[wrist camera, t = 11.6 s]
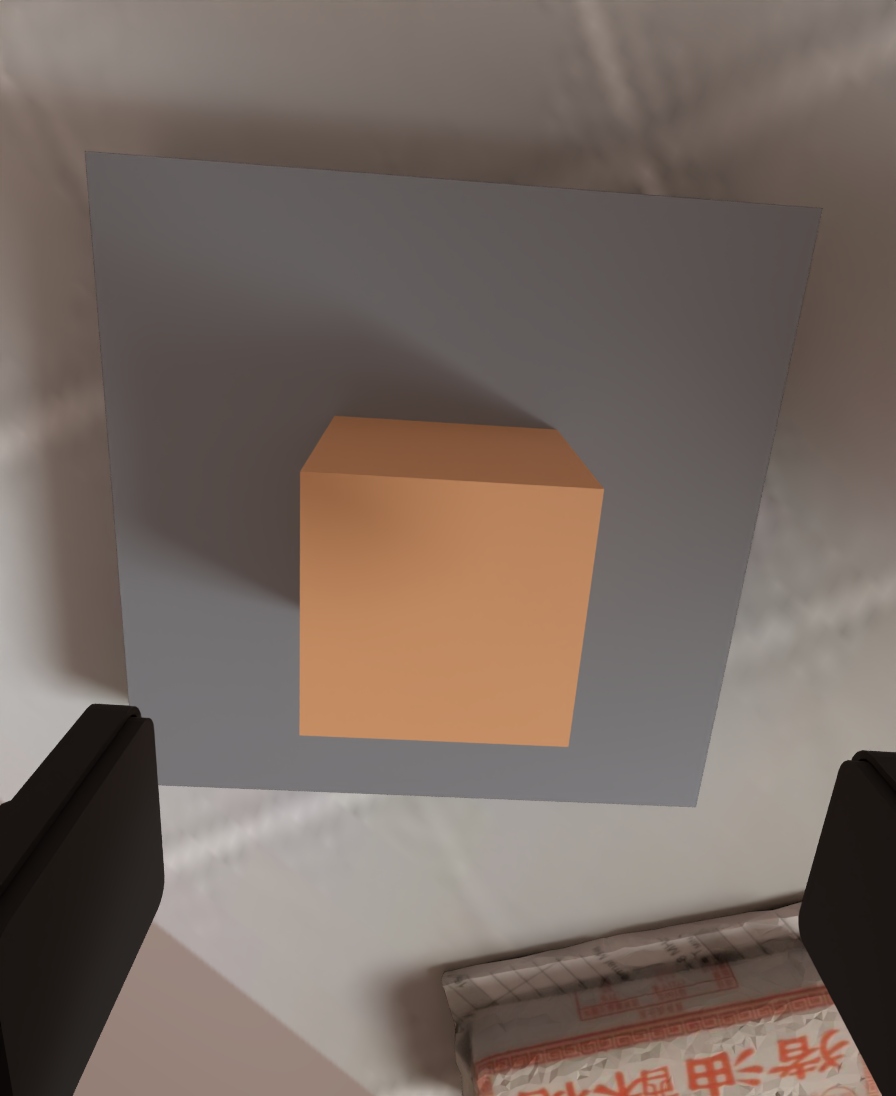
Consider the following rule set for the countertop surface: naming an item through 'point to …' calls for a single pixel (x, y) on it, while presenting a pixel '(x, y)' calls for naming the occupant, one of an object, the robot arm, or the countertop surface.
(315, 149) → the countertop surface
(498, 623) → the cube
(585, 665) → the plinth
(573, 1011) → the packaged product
